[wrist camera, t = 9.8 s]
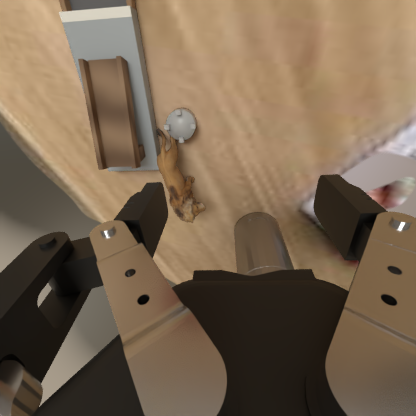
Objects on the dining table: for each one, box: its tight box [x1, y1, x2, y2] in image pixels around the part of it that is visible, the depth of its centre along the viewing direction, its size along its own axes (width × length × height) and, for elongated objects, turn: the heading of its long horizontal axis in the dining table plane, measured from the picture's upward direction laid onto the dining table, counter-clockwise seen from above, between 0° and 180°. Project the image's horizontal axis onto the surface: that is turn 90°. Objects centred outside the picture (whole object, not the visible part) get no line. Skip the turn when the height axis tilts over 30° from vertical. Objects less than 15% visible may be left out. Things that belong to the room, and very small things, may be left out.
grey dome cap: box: [164, 108, 197, 143], centre depth 34 cm, size 5×5×3 cm
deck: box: [59, 6, 161, 171], centre depth 33 cm, size 21×9×2 cm, turn 3°
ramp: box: [78, 56, 146, 170], centre depth 31 cm, size 14×6×5 cm, turn 3°
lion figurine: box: [156, 129, 205, 223], centre depth 36 cm, size 15×5×9 cm, turn 26°
